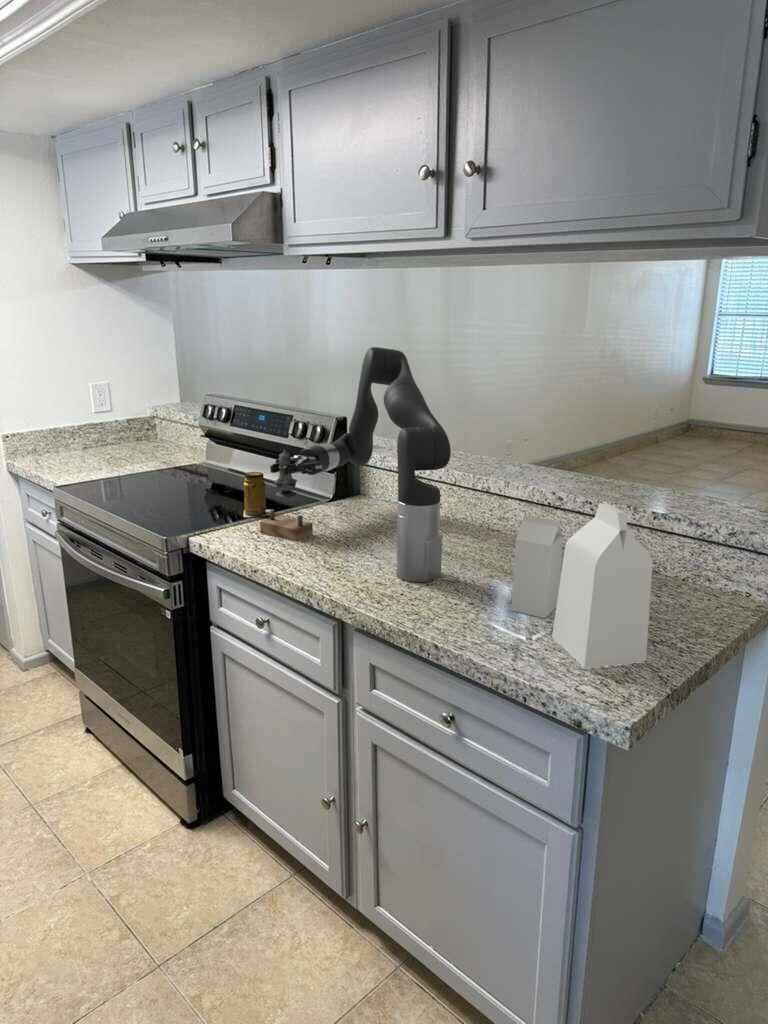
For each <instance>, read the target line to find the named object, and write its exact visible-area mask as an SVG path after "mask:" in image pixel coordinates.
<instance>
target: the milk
mask: <svg viewBox="0 0 768 1024" xmlns="http://www.w3.org/2000/svg"><path fill="white" fill-rule="evenodd" d="M635 537H636V534H635V533H634V532H633V531H632V530H631V529H630V528H629V527H628V521H627V516H626V512H625V511H623V510H621V509H619V508H617V507H615V506H613V505H611V504H609V503H607V502H605V503H599V504H598V506H597V510H596V513H595V515H594V517H593V518H592V519H590V521H589V522H587V523H586V524H585V525H584V526H582V527H581V528H580V529H579V530H578V531H577V532H575V533H574V534H573V535H572V536H571V537H570V538H569V539H568V540H567V542H566V544H565V546H564V552H563V557H562V558H563V559H562V563H561V571H560V582H559V592H558V599H557V606H556V608H555V615H554V621H553V629H552V634H551V639H552V638H553V639H554V640H555V641H556V642H557V643H558V644H559V645H561V646H562V647H563V648H564V649H565V651H567V652H568V653H569V654H570V655H571V656H572V657H573V658H575V659H576V661H578V662H579V663H580V664H581V665H582V666H583V667H584V668H588V667H597V666H606V665H618V664H628V663H636V662H643V661H646V662H647V654H648V653H647V651H648V637H649V636H648V635H649V621H650V609H651V606H650V605H651V590H652V578H653V575H652V574H653V559H652V556H651V555H650V553H649V551H648V550H647V549H646V548H645V547H644V546H643V545H642V544H641V543H640V542H639V540H637V539H636V538H635ZM553 639H552V640H553ZM554 640H553V641H554ZM555 641H554V642H555ZM556 642H555V643H556ZM557 643H556V644H557ZM558 644H557V645H558ZM559 645H558V646H559ZM565 651H564V652H565Z"/></svg>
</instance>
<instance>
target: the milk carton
mask: <svg viewBox="0 0 768 1024" xmlns="http://www.w3.org/2000/svg"><path fill="white" fill-rule="evenodd" d="M563 545H564V534H563V532H562V530H561V527H560V520H557V519H551V518H544V517H539V516H534V515H529V514H528V515H527V514H524V515H523V521H522V524H521V525H520V527H519V530H518V532H517V535H516V537H515V548H514V549H515V550H514V562H513V563H514V565H513V579H512V582H513V583H512V592H511V593H512V594H511V606H510V608H511V609H510V610H511V611H512V612H516V613H520V614H521V613H522V614H525V615H529V616H533V617H538V618H541V619H546V618H547V617H548V616H549V615H550V614H551V613H552V612H553V611H554V610H556V606H557V599H558V592H559V585H560V578H561V571H562V560H563V559H562V558H563V557H562V556H563V548H564V547H563Z"/></svg>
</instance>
